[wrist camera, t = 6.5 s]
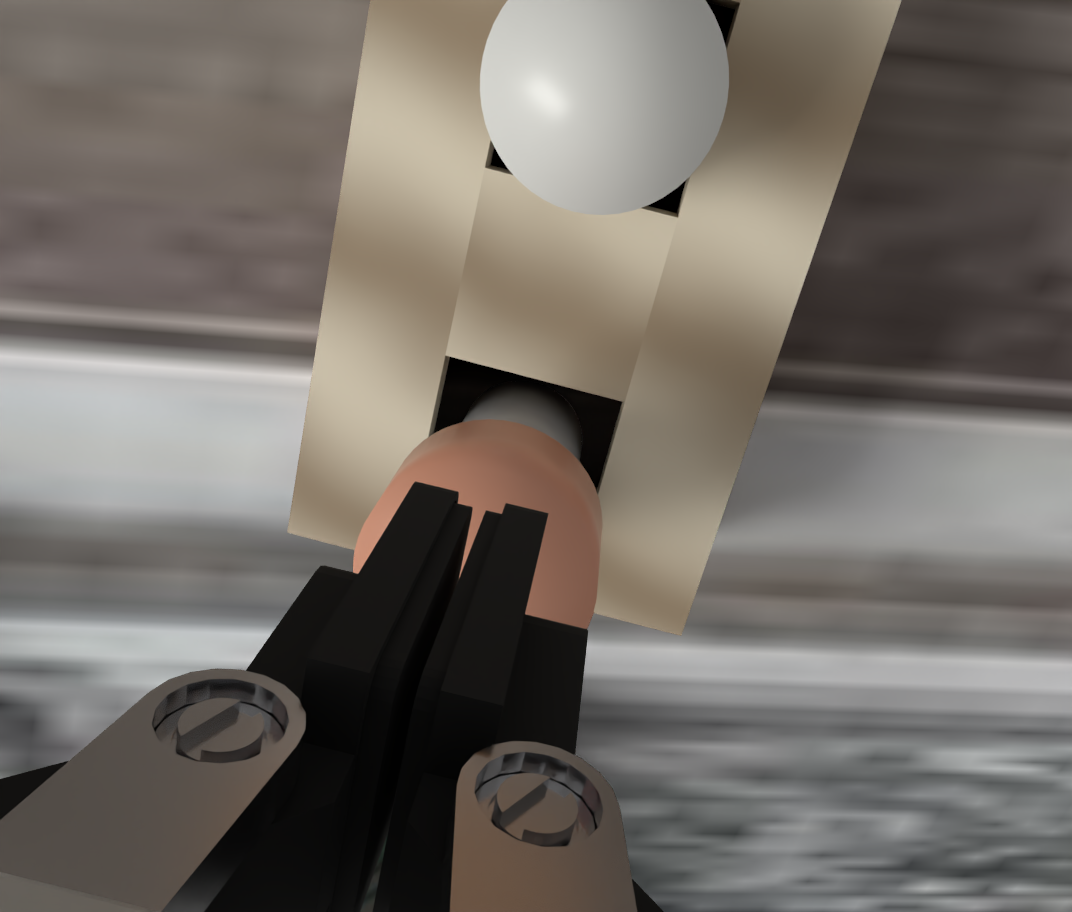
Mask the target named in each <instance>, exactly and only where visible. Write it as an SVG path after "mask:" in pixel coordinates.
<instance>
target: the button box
mask: <svg viewBox="0 0 1072 912" xmlns="http://www.w3.org/2000/svg"><path fill="white" fill-rule="evenodd" d="M507 1H508V0H370V6H369V13H368V19H367V26H366V32H365V38H364V45H363V51H362V58H361V64H360V70H359V77H358V83H357V90H356V96H355V102H354V109H353V115H352V122H351V128H350V134H349V141H348V147H347V154H346V160H345V166H344V173H343V179H342V186H341V192H340V198H339V205H338V211H337V218H336V224H335V230H334V237H333V243H332V250H331V256H330V262H329V269H328V275H327V282H326V288H325V294H324V301H323V307H322V314H321V320H320V326H319V333H318V339H317V346H316V352H315V358H314V365H313V371H312V378H311V384H310V390H309V397H308V403H307V410H306V416H305V422H304V429H303V435H302V442H301V448H300V454H299V461H298V467H297V474H296V480H295V486H294V493H293V499H292V506H291V512H290V518H289V525H288V531H287V533H291V534H295V535H299V536H303V537H306V538H310V539H314V540H318V541H322V542H325V543H329V544H333V545H337V546H341V547H345V548H348V549H352V550H355V547H356V544H357V540H358V536H359V534H360V532H361V529H362V527H363V525H364V523H365V521H366V520H367V518H368V516H369V515H370V513H371V512H372V510H373V508H374V507H375V505H376V504H377V502H378V501H379V499H380V497H381V496H382V494H383V493H384V491H385V490H386V488H387V487H388V485H389V483H390V482H391V480H392V479H393V477H394V476H395V474H396V473H397V471H398V469H399V468H400V466H401V465H402V463H403V462H404V460H405V459H406V458H407V456H408V455H409V454H410V453H411V452H412V450H413V449H414V448H416V447H417V446H418V445H419V444H420V443H421V442H422V441H423V440H425V439H427V438H428V437H430V436H431V435H433V434H434V429H435V425H436V420H437V415H438V411H439V406H440V401H441V396H442V392H443V387H444V382H445V378H446V373H447V368H448V363H449V359H450V357H453V358H457V359H461V360H465V361H468V362H472V363H476V364H480V365H484V366H488V367H492V368H495V369H499V370H503V371H507V372H511V373H515V374H518V375H522V376H526V377H530V378H534V379H538V380H541V381H545V382H549V383H553V384H557V385H561V386H564V387H568V388H572V389H576V390H580V391H584V392H587V393H591V394H595V395H599V396H603V397H607V398H610V399H614V400H618V401H622V404H621V408H620V411H619V415H618V418H617V422H616V425H615V429H614V432H613V436H612V439H611V443H610V446H609V450H608V453H607V457H606V460H605V463H604V467H603V470H602V474H601V477H600V481H599V484H598V488H597V487H595V489H596V492H597V494H598V497H599V501H600V506H601V510H602V523H603V525H602V539H601V551H600V563H599V576H598V588H597V599H596V604H595V608H594V613H596V614H600V615H604V616H607V617H611V618H615V619H619V620H623V621H626V622H630V623H634V624H638V625H642V626H646V627H649V628H653V629H657V630H661V631H665V632H668V633H672V634H676V635H680V636H681V635H682V632H683V629H684V626H685V623H686V620H687V617H688V614H689V611H690V609H691V606H692V603H693V600H694V597H695V594H696V591H697V588H698V586H699V583H700V580H701V577H702V574H703V571H704V568H705V565H706V562H707V560H708V557H709V554H710V551H711V548H712V545H713V542H714V539H715V537H716V534H717V531H718V528H719V525H720V522H721V519H722V516H723V514H724V511H725V508H726V505H727V502H728V499H729V496H730V493H731V490H732V488H733V485H734V482H735V479H736V476H737V473H738V470H739V467H740V465H741V462H742V459H743V456H744V453H745V450H746V447H747V444H748V442H749V439H750V436H751V433H752V430H753V427H754V424H755V421H756V418H757V416H758V413H759V410H760V407H761V404H762V401H763V398H764V395H765V393H766V390H767V387H768V384H769V381H770V378H771V375H772V372H773V370H774V367H775V364H776V361H777V358H778V355H779V352H780V349H781V346H782V344H783V341H784V338H785V335H786V332H787V329H788V326H789V323H790V321H791V318H792V315H793V312H794V309H795V306H796V303H797V300H798V297H799V295H800V292H801V289H802V286H803V283H804V280H805V277H806V274H807V272H808V269H809V266H810V263H811V260H812V257H813V254H814V251H815V249H816V246H817V243H818V240H819V237H820V234H821V231H822V228H823V225H824V223H825V220H826V217H827V214H828V211H829V208H830V205H831V202H832V200H833V197H834V194H835V191H836V188H837V185H838V182H839V179H840V177H841V174H842V171H843V168H844V165H845V162H846V159H847V156H848V153H849V151H850V148H851V145H852V142H853V139H854V136H855V133H856V130H857V128H858V125H859V122H860V119H861V116H862V113H863V110H864V107H865V105H866V102H867V99H868V96H869V93H870V90H871V87H872V84H873V81H874V79H875V76H876V73H877V70H878V67H879V64H880V61H881V58H882V56H883V53H884V50H885V47H886V44H887V41H888V38H889V35H890V32H891V30H892V27H893V24H894V21H895V18H896V15H897V12H898V9H899V7H900V4H901V1H902V0H706V2H708V3H712V4H716V5H720V6H723V7H727V8H731V9H735V13H734V16H733V20H732V23H731V26H730V30H729V33H728V37H727V40H726V44H725V46H726V51H727V58H728V65H729V89H728V99H727V105H726V109H725V113H724V118H723V121H722V123H721V126H720V129H719V132H718V135H717V137H716V139H715V141H714V143H713V145H712V146H711V148H710V150H709V152H708V153H707V155H706V156H705V158H704V159H703V161H702V162H701V164H700V165H699V166H698V167H697V169H696V170H695V171H694V172H693V173H692V174H691V175H690V177H689V178H688V179H686V183H685V186H684V189H683V193H682V196H681V200H680V203H679V207H678V210H677V213H673V212H670V211H666V210H662V209H658V208H654V207H650V206H645V207H642V208H639V209H636V210H633V211H629V212H624V213H620V214H609V215H593V214H584V213H578V212H573V211H570V210H567V209H564V208H561V207H558V206H555V205H553V204H551V203H549V202H547V201H545V200H543V199H542V198H540V197H539V196H537V195H536V194H534V193H533V192H531V191H530V190H529V189H528V188H526V187H525V186H524V185H523V184H522V183H521V182H520V181H518V179H517V178H516V177H515V176H514V175H513V174H512V173H511V172H510V170H507V169H503V168H500V167H496V166H492V165H491V160H492V156H493V151H494V145H493V143H492V141H491V139H490V136H489V133H488V130H487V128H486V125H485V121H484V116H483V112H482V107H481V97H480V72H481V64H482V57H483V53H484V49H485V46H486V42H487V39H488V36H489V34H490V31H491V29H492V26H493V24H494V22H495V20H496V18H497V16H498V14H499V13H500V11H501V9H502V7H503V6H504V5H505V3H506V2H507Z"/></svg>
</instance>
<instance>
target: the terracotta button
mask: <svg viewBox="0 0 1072 912" xmlns="http://www.w3.org/2000/svg"><path fill="white" fill-rule="evenodd" d="M582 440H583V438H582V429H581V424H580V421H579V419H578V416H577V414H576V412H575V411H574V409H573V407H572V406H571V405H570V403H569V402H568V401H567V400H566V399H565V398H564V397H563V396H562V395H561V394H559V393H558V392H557V391H555V390H553V389H552V388H550V387H548V386H546V385H544V384H541V383H537V382H533V381H527V380H513V381H507V382H503V383H500V384H497V385H495V386H493V387H491V388H489V389H488V390H486V391H485V392H483V393H482V394H481V395H480V396H479V397H478V398H477V399H476V400H475V401H474V403H473V404H472V406H471V407H470V409H469V411H468V412H467V414H466V416H465V418H464V420H463V422H462V423H458V424H455V425H452V426H449V427H446V428H444V429H442V430H440V431H438V432H436V433H434V434H433V435H431V436H430V437H428V438H427V439H425V440H423V441H422V442H421V443H420V444H419V445H418V446H417V447H416V448H414V449H413V450H412V452H411V453H410V454H409V455H408V456H407V458H406V459H405V460H404V462H403V463H402V465H401V466H400V468H399V469H398V471H397V473H396V474H395V476H394V477H393V479H392V480H391V482H390V483H389V485H388V487H387V488H386V490H385V491H384V493H383V494H382V496H381V497H380V499H379V501H378V502H377V504H376V505H375V507H374V508H373V510H372V512H371V513H370V515H369V516H368V518H367V520H366V521H365V523H364V525H363V527H362V529H361V532H360V534H359V536H358V540H357V544H356V547H355V552H354V561H353V573H357V574H358V573H359V572H360V570H361V568H362V567H363V565H364V563H365V562H366V560H367V558H368V557H369V555H370V554H371V552H372V550H373V549H374V547H375V545H376V544H377V542H378V540H379V539H380V537H381V536H382V534H383V532H384V531H385V529H386V527H387V526H388V524H389V522H390V521H391V519H392V517H393V516H394V514H395V513H396V511H397V509H398V508H399V506H400V504H401V503H402V501H403V499H404V498H405V496H406V495H407V493H408V491H409V490H410V488H411V486H412V485H413V483H414V482H415V481H416V482H420V483H424V484H429V485H433V486H437V487H441V488H445V489H450V490H454V491H458V492H459V498H458V504H462V505H466V506H470V507H473V510H472V517H471V522H470V527H469V532H468V537H467V542H466V546H465V551H464V556H463V561H462V566H461V571H460V575H461V572H462V570H463V567H464V565H465V562H466V560H467V557H468V555H469V552H470V549H471V547H472V544H473V542H474V539H475V537H476V534H477V532H478V529H479V526H480V524H481V521H482V519H483V516H484V514H485V511H486V510H487V511H491V512H496V513H500V514H502V512H503V509H504V506H505V504H506V503H508V504H512V505H516V506H521V507H525V508H529V509H533V510H537V511H542V512H546V513H549V514H548V518H547V522H546V526H545V531H544V535H543V539H542V543H541V548H540V552H539V556H538V560H537V565H536V569H535V573H534V578H533V582H532V586H531V590H530V595H529V599H528V603H527V607H526V612H525V614H526V615H531V616H535V617H539V618H543V619H547V620H551V621H555V622H559V623H564V624H568V625H572V626H576V627H580V628H584V629H587V628H588V626H589V623H590V621H591V618H592V616H593V613H594V608H595V604H596V599H597V588H598V576H599V563H600V551H601V539H602V525H603V523H602V510H601V506H600V501H599V497H598V494H597V492H596V489H595V486H594V484H593V482H592V480H591V478H590V477H589V475H588V473H587V471H586V470H585V469H584V467H583V466H582V465H581V463H580V456H581V450H582ZM459 578H460V576H459Z"/></svg>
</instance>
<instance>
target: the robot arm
mask: <svg viewBox="0 0 1072 912" xmlns="http://www.w3.org/2000/svg"><path fill="white" fill-rule="evenodd" d="M458 498H459V492H458V491H454V490H450V489H445V488H441V487H437V486H433V485H429V484H424V483H420V482H416V481H415V482H414V483H413V485H412V486H411V488H410V490H409V491H408V493H407V495H406V496H405V498H404V499H403V501H402V503H401V504H400V506H399V508H398V509H397V511H396V513H395V514H394V516H393V517H392V519H391V521H390V522H389V524H388V526H387V527H386V529H385V531H384V532H383V534H382V536H381V537H380V539H379V540H378V542H377V544H376V545H375V547H374V549H373V550H372V552H371V554H370V555H369V557H368V558H367V560H366V562H365V563H364V565H363V567H362V568H361V570H360V572H359V573H358V574H357V573H353V572H349V571H345V570H341V569H336V568H332V567H328V566H320V567H319V568H318V569H317V571H316V572H315V573H314V574H313V576H312V577H311V579H310V580H309V582H308V583H307V584H306V586H305V587H304V589H303V590H302V592H301V593H300V594H299V596H298V597H297V599H296V600H295V602H294V603H293V604H292V606H291V607H290V609H289V610H288V611H287V613H286V614H285V616H284V617H283V619H282V620H281V621H280V623H279V624H278V626H277V627H276V629H275V630H274V631H273V633H272V634H271V636H270V637H269V638H268V640H267V641H266V643H265V644H264V646H263V647H262V648H261V650H260V651H259V653H258V654H257V656H256V657H255V658H254V660H253V661H252V663H251V664H250V665H249V667H248V668H247V670H246V671H245V670H236V669H210V670H202V671H195V672H190V673H187V674H184V675H181V676H178V677H175V678H172V679H169V680H167V681H166V682H164V683H163V684H161V685H159V686H158V687H156V688H155V689H153V690H152V691H150V692H149V693H148V694H146V695H145V696H144V697H143V698H142V699H141V700H139V701H138V702H137V703H136V704H135V705H134V706H132V707H131V708H130V709H129V710H128V711H127V712H125V713H124V714H123V715H122V716H121V717H120V718H118V719H117V720H116V721H115V722H114V723H113V724H111V725H110V726H109V727H108V728H107V729H106V730H104V731H103V732H102V733H101V734H100V735H99V736H98V737H96V738H95V739H94V740H93V741H92V742H91V743H89V744H88V745H87V746H86V747H85V748H84V749H82V750H81V751H80V752H79V753H78V754H77V755H75V756H74V757H73V758H72V759H71V760H70V761H66V762H63V763H59V764H55V765H51V766H48V767H44V768H40V769H36V770H33V771H29V772H25V773H21V774H18V775H14V776H10V777H6V778H3V779H0V912H360V911H361V908H362V906H363V903H364V900H365V897H366V894H367V891H368V889H369V886H370V883H371V880H372V877H373V874H374V872H375V869H376V866H377V863H378V860H379V857H380V854H381V852H382V849H383V846H384V843H385V840H386V837H387V840H386V845H385V850H384V856H383V861H382V866H381V871H380V876H379V881H378V886H377V891H376V896H375V901H374V907H373V912H663V911H662V910H661V908H660V907H659V906H658V905H657V904H656V903H655V902H654V901H653V900H652V899H651V898H650V897H649V896H648V895H647V894H646V893H645V892H644V891H643V890H642V889H641V888H640V887H639V886H638V884H637V883H636V882H635V881H634V880H633V879H632V878H631V872H630V866H629V860H628V854H627V848H626V842H625V836H624V830H623V824H622V818H621V812H620V807H619V804H618V802H617V799H616V796H615V793H614V791H613V789H612V788H611V786H610V785H609V784H608V782H607V781H606V780H605V779H604V777H603V776H602V775H601V774H600V772H598V771H597V770H596V769H595V768H593V767H592V766H591V765H589V764H588V763H587V762H585V761H584V760H583V759H582V758H580V757H578V756H575V749H576V740H577V730H578V721H579V712H580V702H581V693H582V684H583V675H584V665H585V656H586V647H587V637H588V630H587V629H584V628H580V627H576V626H572V625H568V624H564V623H559V622H555V621H551V620H547V619H543V618H539V617H535V616H531V615H526V614H525V612H526V607H527V603H528V599H529V595H530V590H531V586H532V582H533V578H534V573H535V569H536V565H537V560H538V556H539V552H540V548H541V543H542V539H543V535H544V531H545V526H546V522H547V518H548V514H549V513H546V512H542V511H537V510H533V509H529V508H525V507H521V506H516V505H512V504H508V503H506V504H505V506H504V509H503V512H502V514H500V513H496V512H491V511H487V510H486V511H485V514H484V516H483V519H482V521H481V524H480V526H479V529H478V532H477V534H476V537H475V539H474V542H473V544H472V547H471V549H470V552H469V555H468V557H467V560H466V562H465V565H464V567H463V570H462V572H461V575H460V571H461V566H462V561H463V556H464V551H465V546H466V542H467V537H468V532H469V527H470V522H471V517H472V510H473V507H470V506H466V505H462V504H458ZM459 576H460V578H459Z"/></svg>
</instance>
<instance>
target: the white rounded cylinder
mask: <svg viewBox="0 0 1072 912" xmlns="http://www.w3.org/2000/svg"><path fill="white" fill-rule="evenodd" d="M728 89H729V65H728V58H727V51H726V46H725V43H724V39H723V36H722V32H721V30H720V27H719V25H718V22H717V20H716V18H715V15H714V14H713V12H712V10H711V9H710V7H709V5H708V4H707V2H706V0H508V1H507V2H506V3H505V5H504V6H503V7H502V9H501V11H500V13H499V14H498V16H497V18H496V20H495V22H494V24H493V26H492V29H491V31H490V34H489V36H488V39H487V42H486V46H485V49H484V53H483V57H482V64H481V72H480V97H481V107H482V112H483V116H484V121H485V125H486V128H487V130H488V133H489V136H490V139H491V141H492V143H493V145H494V147H495V149H496V151H497V153H498V155H499V156H500V158H501V159H502V161H503V162H504V164H505V165H506V167H507V168H508V169H509V170H510V172H511V173H512V174H513V175H514V176H515V177H516V178H517V179H518V181H520V182H521V183H522V184H523V185H524V186H525V187H526V188H528V189H529V190H530V191H531V192H533V193H534V194H536V195H537V196H539V197H540V198H542V199H543V200H545V201H547V202H549V203H551V204H553V205H555V206H558V207H561V208H564V209H567V210H570V211H573V212H578V213H584V214H593V215H609V214H620V213H624V212H629V211H633V210H636V209H639V208H642V207H645V206H647V205H650V204H652V203H654V202H656V201H658V200H659V199H661V198H663V197H665V196H666V195H668V194H669V193H671V192H672V191H673V190H675V189H676V188H678V187H679V186H680V185H681V184H682V183H683V182H684V181H685V180H686V179H688V178H689V177H690V175H691V174H692V173H693V172H694V171H695V170H696V169H697V167H698V166H699V165H700V164H701V162H702V161H703V159H704V158H705V156H706V155H707V153H708V152H709V150H710V148H711V146H712V145H713V143H714V141H715V139H716V137H717V135H718V132H719V129H720V126H721V123H722V121H723V118H724V113H725V109H726V105H727V99H728Z"/></svg>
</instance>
